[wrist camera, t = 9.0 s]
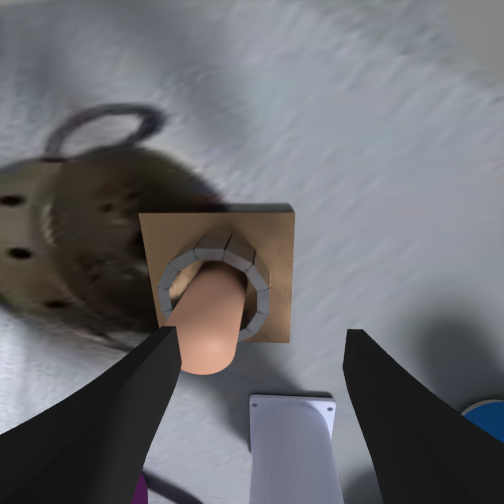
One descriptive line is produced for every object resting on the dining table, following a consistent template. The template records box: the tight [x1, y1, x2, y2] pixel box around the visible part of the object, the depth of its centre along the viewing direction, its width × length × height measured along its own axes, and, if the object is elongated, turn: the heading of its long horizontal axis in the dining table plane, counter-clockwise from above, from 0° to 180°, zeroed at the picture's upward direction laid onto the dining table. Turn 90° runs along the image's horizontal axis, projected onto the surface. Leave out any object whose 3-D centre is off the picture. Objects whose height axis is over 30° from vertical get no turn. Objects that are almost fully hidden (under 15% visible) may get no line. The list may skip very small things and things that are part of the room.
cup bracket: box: [139, 211, 295, 343], centre depth 19 cm, size 11×11×3 cm
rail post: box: [164, 261, 248, 375], centre depth 17 cm, size 4×4×7 cm
